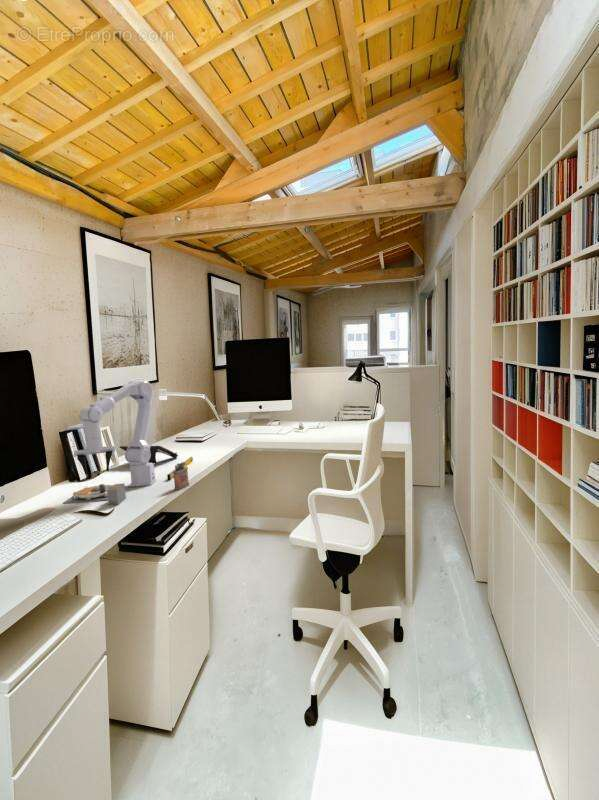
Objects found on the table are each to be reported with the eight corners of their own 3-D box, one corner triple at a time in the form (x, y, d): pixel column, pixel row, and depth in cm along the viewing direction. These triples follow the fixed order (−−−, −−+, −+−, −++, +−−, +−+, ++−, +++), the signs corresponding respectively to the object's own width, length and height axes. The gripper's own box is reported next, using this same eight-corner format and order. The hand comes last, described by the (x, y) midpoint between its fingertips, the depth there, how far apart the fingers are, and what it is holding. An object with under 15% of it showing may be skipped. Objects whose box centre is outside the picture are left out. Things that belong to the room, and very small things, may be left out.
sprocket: (105, 485, 196) (104, 475, 195) (126, 490, 185) (125, 480, 184) (64, 496, 183) (63, 485, 182) (85, 502, 172) (84, 491, 171)
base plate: (126, 486, 193) (126, 485, 193) (110, 500, 175) (109, 499, 175) (83, 489, 193) (83, 488, 192) (62, 503, 175) (62, 502, 175)
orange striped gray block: (126, 498, 176) (124, 483, 175) (118, 505, 168) (116, 489, 168) (116, 499, 176) (115, 483, 175) (108, 506, 168) (107, 490, 167)
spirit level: (190, 462, 232) (189, 456, 231) (193, 462, 232) (192, 456, 231) (167, 481, 199) (167, 474, 198) (170, 481, 198) (170, 474, 198)
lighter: (179, 490, 182) (177, 465, 181) (172, 490, 183) (170, 465, 182) (191, 484, 190) (189, 461, 189) (184, 484, 191) (182, 460, 190)
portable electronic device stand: (180, 469, 243) (182, 452, 246) (157, 459, 222) (160, 441, 225) (142, 469, 249) (144, 453, 252) (116, 460, 228) (119, 442, 231)
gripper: (71, 441, 170) (75, 477, 171) (113, 436, 175) (117, 471, 177) (73, 438, 177) (77, 473, 178) (113, 434, 182) (117, 467, 183)
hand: (97, 472), depth 178 cm, fingers open, 7 cm apart
